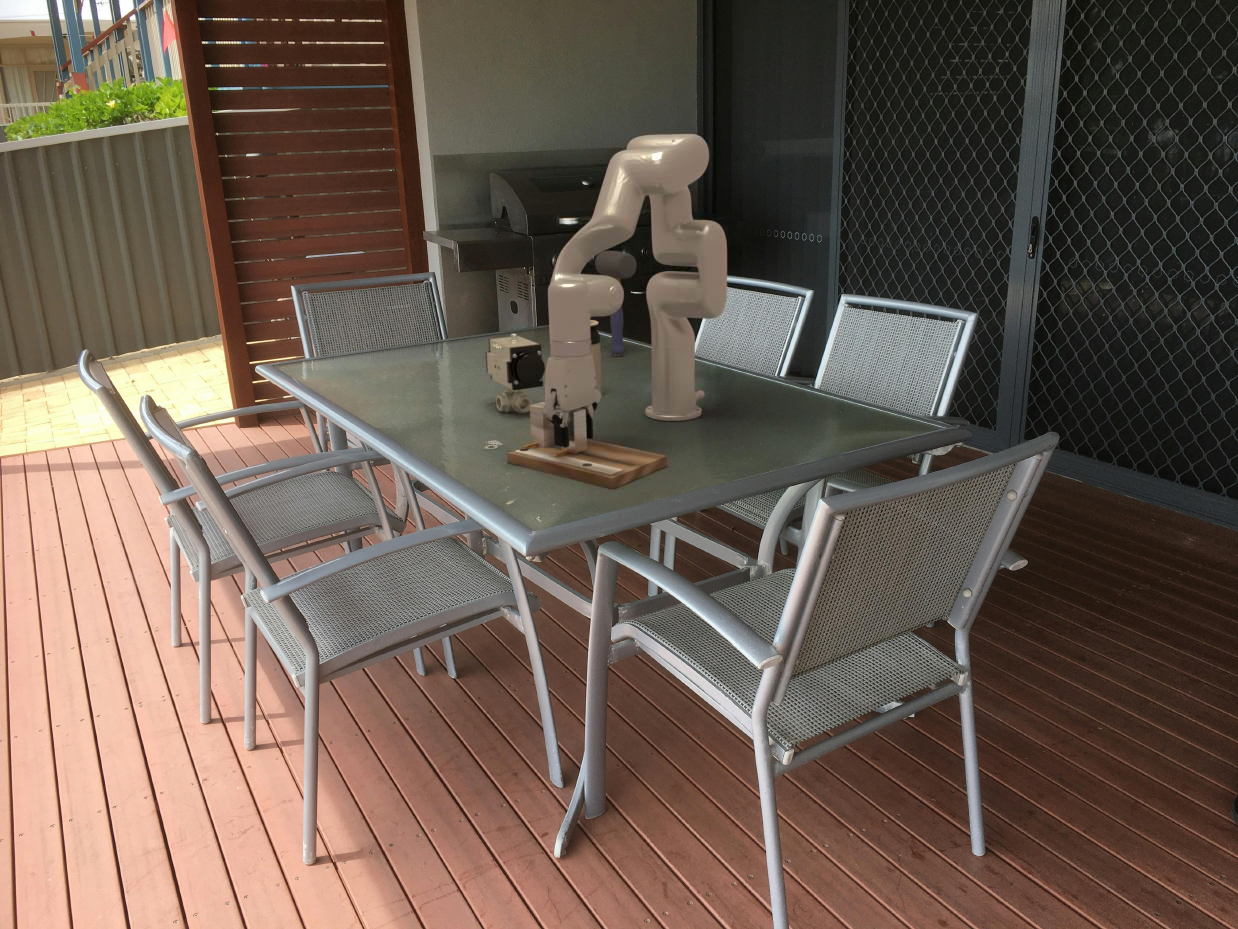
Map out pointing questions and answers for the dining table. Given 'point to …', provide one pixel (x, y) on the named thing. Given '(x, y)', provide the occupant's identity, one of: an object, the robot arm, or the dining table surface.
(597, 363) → the travel mug
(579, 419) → the sliding block with pointer
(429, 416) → the dining table surface
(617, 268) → the rubber mallet
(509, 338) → the ball valve
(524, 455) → the rule board
